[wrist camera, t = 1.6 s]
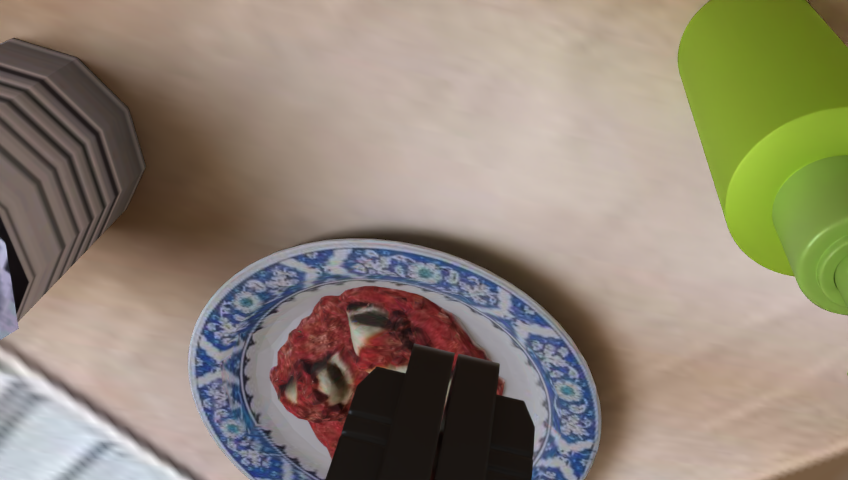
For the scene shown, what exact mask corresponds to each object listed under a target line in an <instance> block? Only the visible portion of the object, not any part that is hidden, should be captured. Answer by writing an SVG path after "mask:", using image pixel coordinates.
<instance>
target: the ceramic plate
mask: <svg viewBox="0 0 848 480" xmlns="http://www.w3.org/2000/svg"><path fill="white" fill-rule="evenodd" d="M414 344H419V345H423V346H427V347H431V348H436V349H440V350H444V351H449V352H453V353H455V355H454V360H453V365H452V370H451V375H450V381H449V386H448V391H447V396H446V401H447V397H448V393H449V389H450V385H451V381H452V376H453V372H454V368H455V364H456V360H457V357H458V354H462V355H467V356H471V357H475V358H480V359H484V360H488V361H492V362H497V363H500V369H499V378H498V386H497V395H501V396H506V397H510V398H514V399H518V400H523V401H524V402H525V404H526V407H527V409H528V411H529V414H530V416H531V419H532V421H533V423H534V426H535V436H534V453H533V470H532V478H531V480H584V479H585V478H586V476H587V474H588V472H589V471H590V469H591V467H592V465H593V462H594V459H595V456H596V453H597V450H598V447H599V442H600V437H601V423H602V419H601V407H600V401H599V397H598V393H597V388H596V385H595V382H594V380H593V377H592V375H591V372H590V369H589V367H588V364H587V362H586V360H585V359H584V357H583V356H582V354H581V352H580V351H579V349H578V348H577V346H576V345H575V343H574V341H573V340H572V338H571V337H570V336H569V335H568V333H567V332H566V331H565V330H564V329H563V327H562V326H561V325H560V324H559V323H558V322H557V321H556V320H555V319H554V318H553V317H552V316H551V315H550V314H549V313H548V312H547V311H546V310H545V309H544V308H543V307H542V306H541V305H540V304H538V303H537V302H536V301H535V300H533V299H532V298H531V297H530V296H529V295H527V294H526V293H525V292H523V291H522V290H520V289H519V288H517V287H516V286H514V285H513V284H511V283H510V282H508V281H507V280H505V279H503V278H501V277H499V276H498V275H496V274H494V273H492V272H491V271H489V270H487V269H485V268H482V267H480V266H478V265H476V264H474V263H471V262H469V261H467V260H465V259H462V258H459V257H456V256H453V255H451V254H448V253H445V252H442V251H438V250H435V249H431V248H427V247H424V246H420V245H415V244H409V243H404V242H399V241H390V240H381V239H361V238H347V239H332V240H324V241H317V242H311V243H306V244H302V245H298V246H295V247H291V248H287V249H284V250H280V251H277V252H275V253H273V254H271V255H269V256H266V257H264V258H262V259H260V260H258V261H256V262H254V263H252V264H250V265H249V266H247V267H246V268H244V269H242V270H241V271H239V272H238V273H236V274H235V275H234V276H233V277H232V278H231V279H229V280H228V281H227V282H226V283H225V284H223V285H222V286H221V288H220V289H219V290H218V291H217V292H216V293H215V294H214V295H213V296H212V297H211V299H210V300H209V302H208V303H207V305H206V306H205V308H204V309H203V311H202V312H201V314H200V316H199V319H198V321H197V323H196V325H195V328H194V331H193V334H192V337H191V342H190V347H189V356H188V371H189V382H190V386H191V391H192V395H193V398H194V401H195V404H196V407H197V410H198V412H199V414H200V416H201V419H202V421H203V423H204V425H205V426H206V428H207V430H208V431H209V433H210V435H211V437H212V438H213V439H214V441H215V442H216V444H217V445H218V446H219V448H220V449H221V450H222V452H223V453H224V454H225V455H226V456H227V457H228V459H229V460H230V461H231V462H232V463H233V464H234V465H235V466H236V467H237V468H238V469H239V470H240V471H241V472H242V473H243V474H244V475H245V476H246V477H248V478H249V479H250V480H325V479H326V476H327V473H328V470H329V467H330V464H331V461H332V458H333V455H334V452H335V450H336V447H337V444H338V441H339V438H340V436H341V433H342V429H343V426H344V423H345V420H346V417H347V415H348V412H349V408H350V405H351V402H352V400H353V397H354V394H355V391H356V388H357V385H358V384H359V383H360V382H361V381H362V380H363V379H364V378H365V377H366V376H367V375H368V374H369V373H370V372H372V371H373V370H374V369H375V368H376V367H381V368H386V369H390V370H394V371H398V372H403V373H406V370H407V367H408V363H409V359H410V355H411V352H412V348H413V345H414ZM446 401H445V405H446ZM444 409H445V406H444ZM443 413H444V411H443ZM442 417H443V416H442Z"/></svg>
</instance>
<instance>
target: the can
mask: <svg viewBox="0 0 848 480" xmlns="http://www.w3.org/2000/svg"><path fill="white" fill-rule="evenodd" d="M145 167H146V165H145V162H144V159H143V155H142V152H141V149H140V145H139V142H138V139H137V135H136V132H135V129H134V125H133V122H132V119H131V115H130V112H129V109H128V108H127V107H126V106H125V105H124V104H123V103H122V102H121V101H120V100H119V99H118V98H117V97H116V96H115V95H114V94H113V93H112V92H111V91H110V90H109V89H108V88H107V87H106V86H105V85H104V84H103V83H102V82H101V81H100V80H99V79H98V78H97V77H96V76H95V75H94V74H93V73H92V72H91V71H90V70H89V69H88V68H87V67H86V66H85V65H84V64H83V63H82V62H81V61H80V60H79V59H78V58H76V57H73V56H70V55H67V54H63V53H60V52H57V51H53V50H50V49H47V48H44V47H40V46H37V45H34V44H30V43H27V42H24V41H21V40H17V39H14V38H12V39H10V40H8V41H5V42H3V43H1V44H0V340H1V339H2V338H4V337H6V336H7V335H9V334H10V333H12V332H14V331H15V330H17V329H19V328H18V321H19V320H20V319H21V318H22V317H23V316H24V315H25V314H26V313H27V312H28V311H29V310H30V309H31V308H32V307H33V306H34V305H35V304H36V303H37V302H38V301H39V300H40V299H41V297H42V296H43V295H44V294H45V293H46V292H47V291H48V290H49V289H50V288H51V287H52V286H53V285H54V284H55V283H56V282H57V281H58V280H59V279H60V278H61V277H62V276H63V275H64V274H65V272H66V271H67V270H68V269H69V268H70V267H71V266H72V265H73V264H74V263H75V262H76V261H77V260H78V259H79V258H80V257H81V256H82V255H83V254H84V253H85V252H86V251H87V250H88V249H89V247H90V246H91V245H92V244H93V243H94V242H95V241H96V240H97V239H98V238H99V237H100V236H101V235H102V234H103V233H104V232H105V231H106V230H107V229H108V228H109V227H110V226H111V225H112V223H113V222H114V221H115V220H116V219H117V218H118V217H119V216H120V215H121V214H122V213H123V212H124V211H125V210H126V209H127V207H128V204H129V202H130V200H131V198H132V196H133V194H134V191H135V189H136V187H137V185H138V183H139V180H140V178H141V176H142V174H143V172H144V170H145Z"/></svg>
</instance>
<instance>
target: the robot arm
mask: <svg viewBox="0 0 848 480" xmlns="http://www.w3.org/2000/svg"><path fill="white" fill-rule="evenodd" d="M454 355H455V353H453V352H449V351H444V350H440V349H436V348H431V347H427V346H423V345H419V344H414V345H413V348H412V352H411V355H410V359H409V363H408V367H407V370H406V373H403V372H398V371H394V370H390V369H386V368H381V367H376V368H375V369H374V370H373V371H372V372H370V373H369V374H368V375H367V376H366V377H365V378H364V379H363V380H362V381H361V382H360V383H359V384H358V385H357V388H356V391H355V394H354V397H353V400H352V402H351V405H350V408H349V412H348V415H347V417H346V420H345V423H344V426H343V429H342V433H341V436H340V438H339V441H338V444H337V447H336V450H335V452H334V455H333V458H332V461H331V464H330V467H329V470H328V473H327V476H326V479H325V480H531V478H532V470H533V453H534V436H535V426H534V423H533V421H532V419H531V416H530V414H529V411H528V409H527V407H526V404H525V402H524V401H523V400H518V399H514V398H510V397H506V396H501V395H497V386H498V378H499V369H500V363H497V362H492V361H488V360H484V359H480V358H475V357H471V356H467V355H462V354H458V357H457V360H456V364H455V368H454V372H453V376H452V381H451V385H450V389H449V393H448V397H447V401H446V396H447V391H448V386H449V381H450V375H451V370H452V365H453V360H454ZM445 401H446V405H445ZM444 406H445V409H444ZM443 411H444V413H443ZM442 416H443V417H442Z"/></svg>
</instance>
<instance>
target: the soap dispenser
mask: <svg viewBox="0 0 848 480" xmlns="http://www.w3.org/2000/svg"><path fill="white" fill-rule="evenodd" d="M678 67H679V72H680V76H681V79H682V82H683V86H684V89H685V92H686V95H687V98H688V101H689V105H690V108H691V111H692V114H693V117H694V121H695V124H696V127H697V130H698V133H699V137H700V140H701V143H702V146H703V149H704V153H705V156H706V159H707V162H708V165H709V169H710V172H711V175H712V178H713V181H714V184H715V188H716V191H717V194H718V197H719V200H720V204H721V207H722V210H723V213H724V216H725V220H726V223H727V226H728V229H729V231H730V233H731V236H732V237H733V239H734V241H735V242H736V244H737V245H738V246H739V248H740V249H741V250H742V251H743V252H744V253H745V254H746V255H747V256H748V257H750V258H751V259H752V260H754V261H755V262H757V263H758V264H760V265H762V266H763V267H765V268H768V269H770V270H772V271H775V272H778V273H781V274H785V275H789V276H795V278H796V281H797V283H798V285H799V287H800V289H801V290H802V292H803V293H804V294H805V296H806V297H807V298H808V299H809V300H810V301H811V302H813V303H814V304H815V305H817V306H819V307H820V308H822V309H825V310H827V311H830V312H833V313H837V314H842V315H848V47H847V46H846V45H845V44H844V43H843V42H842V41H841V39H840V38H839V37H838V36H837V35H836V34H835V33H834V32H833V30H832V29H831V28H830V27H829V26H828V25H827V24H826V23H825V21H824V20H823V19H822V18H821V17H820V16H819V15H818V13H817V12H816V11H815V10H814V9H813V8H812V7H811V6H810V4H809V3H808V2H807V1H806V0H710V1H709V2H708V3H707V4H705V5H704V6H703V7H702V8H701V9H700V10H699V11H698V12H697V13H696V14H695V16H694V17H693V18H692V19H691V21H690V22H689V24H688V26H687V27H686V29H685V31H684V33H683V36H682V39H681V42H680V46H679V51H678ZM847 375H848V373H847Z"/></svg>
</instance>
